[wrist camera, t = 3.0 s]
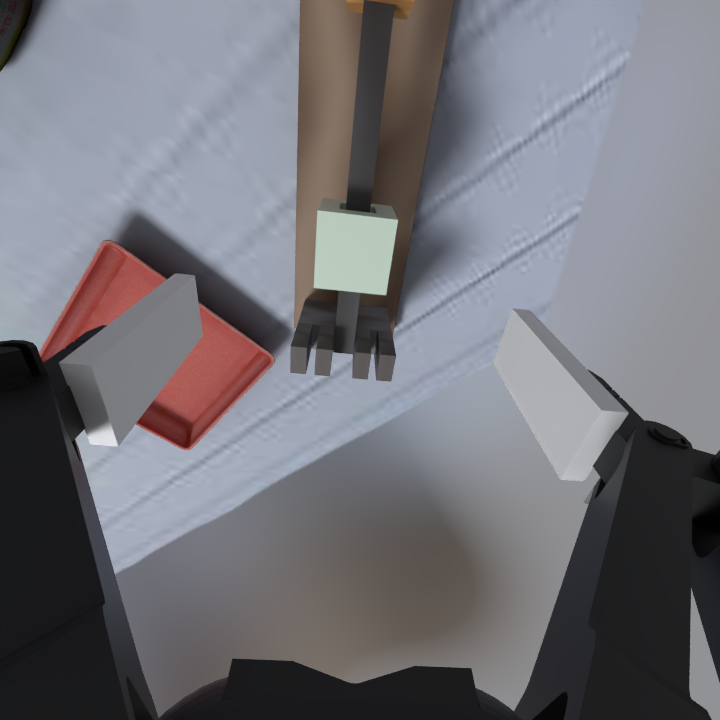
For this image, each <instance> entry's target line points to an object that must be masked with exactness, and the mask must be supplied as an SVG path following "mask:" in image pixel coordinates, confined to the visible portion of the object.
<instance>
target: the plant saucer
mask: <svg viewBox="0 0 720 720" xmlns="http://www.w3.org/2000/svg"><path fill="white" fill-rule="evenodd" d="M166 280H167V278H166V277H165V276H163V275H162V274H160V273H159V272H158V271H156V270H155V269H154V268H152V267H151V266H149V265H148V264H147V263H145V262H144V261H142V260H141V259H140V258H138V257H137V256H135V255H134V254H133V253H131V252H130V251H128V250H127V249H125V248H124V247H122V246H121V245H119V244H118V243H116V242H114V241H111V240H105V241H103V242H102V243H101V244H100V246H99V248H98V249H97V251H96V253H95V255H94V256H93V258H92V260H91V262H90V263H89V265H88V267H87V269H86V271H85V272H84V274H83V276H82V278H81V280H80V281H79V283H78V285H77V286H76V288H75V290H74V292H73V294H72V295H71V297H70V299H69V301H68V302H67V304H66V305H65V308H64V310H63V311H62V313H61V315H60V316H59V318H58V320H57V322H56V324H55V325H54V327H53V329H52V330H51V332H50V334H49V336H48V337H47V339H46V341H45V343H44V344H43V346H42V348H41V350H40V351H39V354H40V357H41V359H42V361H43V363H44V362H46V361H47V360H48V359H50V358H51V357H52V356H54V355H55V354H56V353H58V352H59V351H61V350H62V349H65V347H66V346H67V345H69V344H70V343H72V342H75V340H76V339H77V338H78V337H80V336H81V335H82V334H84V333H85V332H87V331H89V330H92V329H94V328H97V327H99V326H102V325H109V324H110V323H111V322H113V321H114V320H115V319H116V318H118V317H119V316H120V315H122V314H123V313H124V312H126V311H127V310H128V309H129V308H131V307H132V306H133V305H135V304H136V303H137V302H139V301H140V300H141V299H142V298H144V297H145V296H146V295H148V294H149V293H150V292H152V291H153V290H154V289H155V288H157V287H158V286H159V285H161V284H162V283H163V282H165V281H166ZM198 303H199V310H200V318H201V325H202V333H203V336H202V338H201V339H200V340H199V342H198V343H197V344H196V346H195V347H194V348H193V350H192V351H191V352H190V353H189V355H188V356H187V357H186V359H185V360H184V361H183V363H182V364H181V365H180V367H179V368H178V369H177V370H176V372H175V373H174V374H173V376H172V377H171V378H170V380H169V381H168V382H167V383H166V385H165V386H164V387H163V389H162V390H161V391H160V393H159V394H158V395H157V397H156V398H155V399H154V400H153V402H152V403H151V404H150V406H149V407H148V408H147V410H146V411H145V412H144V414H143V415H142V416H141V417H140V419H139V420H138V421H137V423H136V425H138V426H140V427H141V428H143V429H145V430H147V431H149V432H151V433H153V434H154V435H156V436H158V437H160V438H162V439H164V440H166V441H168V442H169V443H171V444H173V445H175V446H177V447H179V448H181V449H183V450H191V449H192V448H193V447H194V446H195V445H196V444H197V443H198V442H199V441H200V440H201V439H202V438H203V437H204V436H205V435H206V434H207V433H208V432H209V430H210V429H211V428H213V426H214V425H215V424H216V423H217V422H218V421H219V420H220V419H221V418H222V417H223V416H224V415H225V414H226V413H227V412H228V411H229V410H230V409H231V408H232V407H233V406H234V405H235V404H236V403H237V402H238V401H239V399H241V398H242V397H243V395H244V394H245V393H246V392H247V391H248V390H249V389H250V388H251V387H252V386H253V385H254V384H255V383H256V382H257V381H258V380H259V379H260V378H261V377H262V376H263V375H264V374H265V373H266V372H267V371H268V370H269V369H270V368H271V367H272V366H273V364H274V362H275V358H274V356H273V355H272V354H271V353H270V352H268V351H267V350H266V349H264V348H263V347H262V346H260V345H259V344H258V343H256V342H255V341H253V340H252V339H251V338H249V337H248V336H246V335H245V334H244V333H242V332H241V331H239V330H238V329H237V328H235V327H234V326H232V325H231V324H230V323H228V322H227V321H226V320H224V319H223V318H221V317H220V316H219V315H217V314H216V313H214V312H213V311H212V310H210V309H209V308H207V307H206V306H205V305H203V304H202V303H201V302H199V301H198Z"/></svg>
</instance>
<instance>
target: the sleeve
mask: <svg viewBox="0 0 720 720" xmlns="http://www.w3.org/2000/svg"><path fill="white" fill-rule="evenodd" d="M397 224H398V219H397V216H396V214H395V212H394V210H393V208H392V206H388V205H380V204H371V208H370V213H369V212H360V211H352V210H346V200H338V199H330V198H323V200H322V202H321V204H320V206H319V208H318V210H317V228H316V249H315V270H314V288H320V289H329V290H339V291H349V292H358V293H368V294H378V295H386V292H387V286H388V280H389V274H390V267H391V261H392V255H393V249H394V243H395V236H396V230H397Z"/></svg>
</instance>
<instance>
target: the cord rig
mask: <svg viewBox="0 0 720 720" xmlns="http://www.w3.org/2000/svg"><path fill="white" fill-rule="evenodd" d="M453 3H454V0H300V42H299V96H298V149H297V203H296V257H295V310H294V328H296V331H295V334H294V337H293V341H292V344H291V366H290V373H300V374H306V370H307V366H308V361H309V356H310V351H311V348H313V349H316V360H315V375H323V376H330V370H331V361H332V352H336V353H347V354H353V377H352V378H357V379H368V373H369V366H370V360H371V354H374V359H375V371H376V380H379V381H391V379H392V374H393V369H394V364H395V359H396V353H395V348H394V342H393V332H394V326H395V321H396V315H397V310H398V304H399V299H400V293H401V288H402V282H403V277H404V271H405V266H406V260H407V255H408V250H409V244H410V239H411V233H412V228H413V222H414V217H415V211H416V206H417V200H418V195H419V189H420V184H421V178H422V173H423V167H424V162H425V156H426V151H427V145H428V140H429V134H430V129H431V123H432V118H433V112H434V107H435V101H436V96H437V90H438V85H439V80H440V74H441V69H442V63H443V58H444V52H445V47H446V41H447V36H448V30H449V25H450V19H451V14H452V8H453ZM323 198H330V199H338V200H346V210H352V211H360V212H369V213H370V208H371V204H380V205H388V206H392V208H393V210H394V212H395V214H396V216H397V219H398V224H397V230H396V236H395V243H394V249H393V255H392V261H391V267H390V274H389V280H388V286H387V292H386V295H378V294H368V293H358V292H349V291H339V290H329V289H320V288H314V270H315V249H316V228H317V210H318V208H319V206H320V204H321V202H322V200H323ZM333 350H334V351H333Z"/></svg>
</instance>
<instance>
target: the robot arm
mask: <svg viewBox="0 0 720 720" xmlns="http://www.w3.org/2000/svg"><path fill="white" fill-rule="evenodd" d="M202 336H203V333H202V325H201V318H200V310H199V303H198V295H197V288H196V280H195V275H186V274H177V273H175V274H174V275H172V276H171V277H170V278H169V279H167V280H166V281H165V282H163V283H162V284H161V285H159V286H158V287H157V288H155V289H154V290H153V291H152V292H150V293H149V294H148V295H146V296H145V297H144V298H142V299H141V300H140V301H139V302H137V303H136V304H135V305H133V306H132V307H131V308H129V309H128V310H127V311H126V312H124V313H123V314H122V315H120V316H119V317H118V318H116V319H115V320H114V321H113V322H111V323H110V324H109V325H102V326H99V327H97V328H94V329H92V330H89V331H87V332H85V333H84V334H82V335H81V336H80V337H78V338H77V339H76V340H75V342H72V343H70V344H69V345H67V346H66V347H65V349H62V350H61V351H59V352H58V353H56V354H55V355H54V356H52V357H51V358H50V359H48V360H47V361H46V362H44V363H43V361H42V359H41V357H40V354H39V352H38V349H37V347H36V346H35V345H34V344H33V343H31V342H28V341H23V340H10V341H1V342H0V720H712V719H711V717H710V716H709V714H708V712H707V710H705V709H704V708H703V707H702V706H700V705H699V704H697V703H696V702H695V701H693V700H692V699H691V697H690V691H689V667H690V662H689V661H690V609H691V588H692V591H693V595H694V598H695V601H696V605H697V608H698V612H699V615H700V618H701V622H702V625H703V628H704V632H705V635H706V638H707V641H708V645H709V648H710V652H711V655H712V658H713V662H714V665H715V668H716V671H717V675H718V678H719V682H720V450H719V452H718V453H717V454H716V455H713V454H710V453H706V452H703V451H699V450H696V449H693V448H692V445H691V443H690V442H689V441H688V440H687V439H686V438H685V437H684V436H683V435H681V434H680V433H678V432H677V431H675V430H673V429H671V428H669V427H668V426H666V425H662V424H660V423H657V422H653V421H644V420H643V419H642V418H641V417H640V416H639V415H638V414H637V413H636V412H635V411H634V410H633V409H632V408H631V407H630V406H629V405H628V404H627V403H626V402H625V401H624V400H623V399H622V398H620V397H619V395H618V394H617V393H616V392H615V391H614V390H612V388H611V387H610V386H609V385H608V384H607V383H606V382H605V381H604V380H603V379H602V378H601V377H599V376H597V375H596V374H594V373H593V372H591V371H589V370H587V369H586V368H585V367H584V366H583V365H582V364H581V363H580V362H579V361H578V360H577V359H576V358H575V357H574V355H573V354H572V353H571V352H570V351H569V350H568V349H567V348H566V347H565V346H564V345H563V344H562V343H561V342H560V341H559V340H558V339H557V338H556V337H555V336H554V335H553V334H552V333H551V332H550V331H549V330H548V329H547V328H546V326H545V325H544V324H543V323H542V322H541V321H540V320H539V319H538V318H537V317H536V316H535V315H534V314H533V313H532V312H531V311H530V310H522V309H512V311H511V314H510V317H509V319H508V322H507V325H506V328H505V331H504V333H503V336H502V339H501V342H500V344H499V347H498V350H497V353H496V355H495V358H494V361H493V365H494V366H495V368H496V370H497V371H498V373H499V375H500V376H501V378H502V380H503V382H504V384H505V385H506V387H507V389H508V390H509V392H510V394H511V396H512V397H513V399H514V401H515V402H516V404H517V406H518V408H519V409H520V411H521V413H522V414H523V416H524V418H525V420H526V421H527V423H528V425H529V427H530V428H531V430H532V432H533V433H534V435H535V436H536V439H537V440H538V442H539V444H540V445H541V447H542V449H543V451H544V452H545V454H546V456H547V457H548V459H549V461H550V463H551V464H552V466H553V468H554V469H555V471H556V473H557V475H558V476H559V478H560V479H562V480H575V481H584V480H585V479H586V478H587V476H588V474H589V473H590V471H591V470H592V468H593V467H594V468H595V470H596V471H597V473H598V474H599V475H600V477H601V478H600V479H599V480H598V482H597V483H596V485H595V486H594V488H593V489H592V491H591V492H590V494H589V495H588V496H587V498H586V499H585V501H584V502H585V503H586V504H588V503H589V505H588V508H587V511H586V514H585V517H584V520H583V523H582V526H581V528H580V532H579V534H578V538H577V540H576V543H575V546H574V549H573V552H572V555H571V558H570V561H569V564H568V567H567V570H566V573H565V576H564V579H563V582H562V586H561V589H560V591H559V595H558V597H557V600H556V603H555V606H554V609H553V612H552V615H551V618H550V622H549V624H548V627H547V630H546V633H545V636H544V639H543V642H542V645H541V648H540V651H539V654H538V657H537V660H536V663H535V666H534V669H533V672H532V675H531V678H530V681H529V683H528V686H527V688H526V690H525V693H524V694H523V696H522V698H521V700H520V702H519V703H518V705H517V707H516V709H515V711H512V710H511V709H510V708H509V707H507V706H506V705H505V704H503V703H502V702H500V701H499V700H498V699H496V698H494V697H493V696H491V695H489V694H487V693H485V692H483V691H482V690H479V689H477V688H475V684H474V680H473V674H472V670H471V668H450V667H425V666H413V667H410V668H407V669H404V670H401V671H397V672H394V673H391V674H387V675H384V676H381V677H378V678H375V679H371V680H368V681H365V682H362V683H358V684H353V683H348V682H346V681H343V680H341V679H338V678H335V677H332V676H330V675H328V674H325V673H322V672H320V671H317V670H315V669H312V668H309V667H307V666H304V665H302V664H299V663H296V662H294V661H277V660H252V659H232V663H231V667H230V672H229V676H228V677H227V678H223V679H220V680H217V681H215V682H212V683H210V684H208V685H206V686H203V687H201V688H199V689H198V690H196V691H194V692H193V693H191V694H189V695H188V696H186V697H184V698H183V699H182V700H181V701H179V702H178V703H176V704H175V705H174V706H172V707H171V708H170V709H168V710H167V711H166V712H165V713H164V714H163V715H162V716H161V717H160V718H158V714H157V711H156V708H155V705H154V702H153V699H152V696H151V693H150V691H149V688H148V685H147V683H146V680H145V677H144V674H143V671H142V668H141V665H140V661H139V658H138V654H137V651H136V647H135V643H134V640H133V637H132V633H131V630H130V627H129V623H128V619H127V616H126V612H125V609H124V605H123V602H122V598H121V595H120V591H119V588H118V584H117V581H116V577H115V574H114V570H113V567H112V563H111V560H110V556H109V553H108V549H107V546H106V542H105V539H104V535H103V532H102V528H101V525H100V521H99V518H98V514H97V511H96V507H95V504H94V500H93V497H92V493H91V490H90V486H89V483H88V479H87V476H86V472H85V469H84V465H83V462H82V458H81V455H80V451H79V448H78V446H77V443H76V441H75V438H76V437H77V436H78V435H79V434H80V433H81V432H82V431H83V430H84V429H85V431H86V434H87V437H88V439H89V442H90V444H94V445H107V446H119V445H120V444H121V442H122V441H123V440H124V438H125V437H126V436H127V434H128V433H129V432H130V431H131V429H132V428H133V427H134V425H135V424H136V423H137V421H138V420H139V419H140V417H141V416H142V415H143V414H144V412H145V411H146V410H147V408H148V407H149V406H150V404H151V403H152V402H153V400H154V399H155V398H156V397H157V395H158V394H159V393H160V391H161V390H162V389H163V387H164V386H165V385H166V383H167V382H168V381H169V380H170V378H171V377H172V376H173V374H174V373H175V372H176V370H177V369H178V368H179V367H180V365H181V364H182V363H183V361H184V360H185V359H186V357H187V356H188V355H189V353H190V352H191V351H192V350H193V348H194V347H195V346H196V344H197V343H198V342H199V340H200V339H201V338H202Z"/></svg>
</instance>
